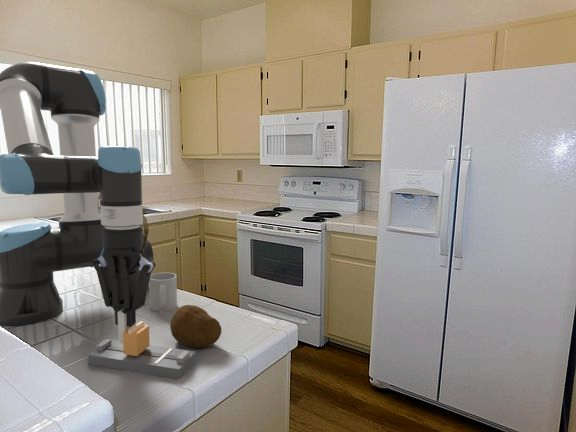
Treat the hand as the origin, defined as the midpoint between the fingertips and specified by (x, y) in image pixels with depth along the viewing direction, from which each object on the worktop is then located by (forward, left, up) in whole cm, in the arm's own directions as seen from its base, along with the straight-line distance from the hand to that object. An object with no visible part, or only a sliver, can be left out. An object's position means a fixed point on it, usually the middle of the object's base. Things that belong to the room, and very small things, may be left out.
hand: (126, 340), depth 78 cm
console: (+4, 0, -4) cm, 6 cm away
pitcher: (-26, +41, -5) cm, 49 cm away
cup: (-7, +27, -5) cm, 28 cm away
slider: (+2, 0, -2) cm, 3 cm away
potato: (+10, +10, -5) cm, 15 cm away
